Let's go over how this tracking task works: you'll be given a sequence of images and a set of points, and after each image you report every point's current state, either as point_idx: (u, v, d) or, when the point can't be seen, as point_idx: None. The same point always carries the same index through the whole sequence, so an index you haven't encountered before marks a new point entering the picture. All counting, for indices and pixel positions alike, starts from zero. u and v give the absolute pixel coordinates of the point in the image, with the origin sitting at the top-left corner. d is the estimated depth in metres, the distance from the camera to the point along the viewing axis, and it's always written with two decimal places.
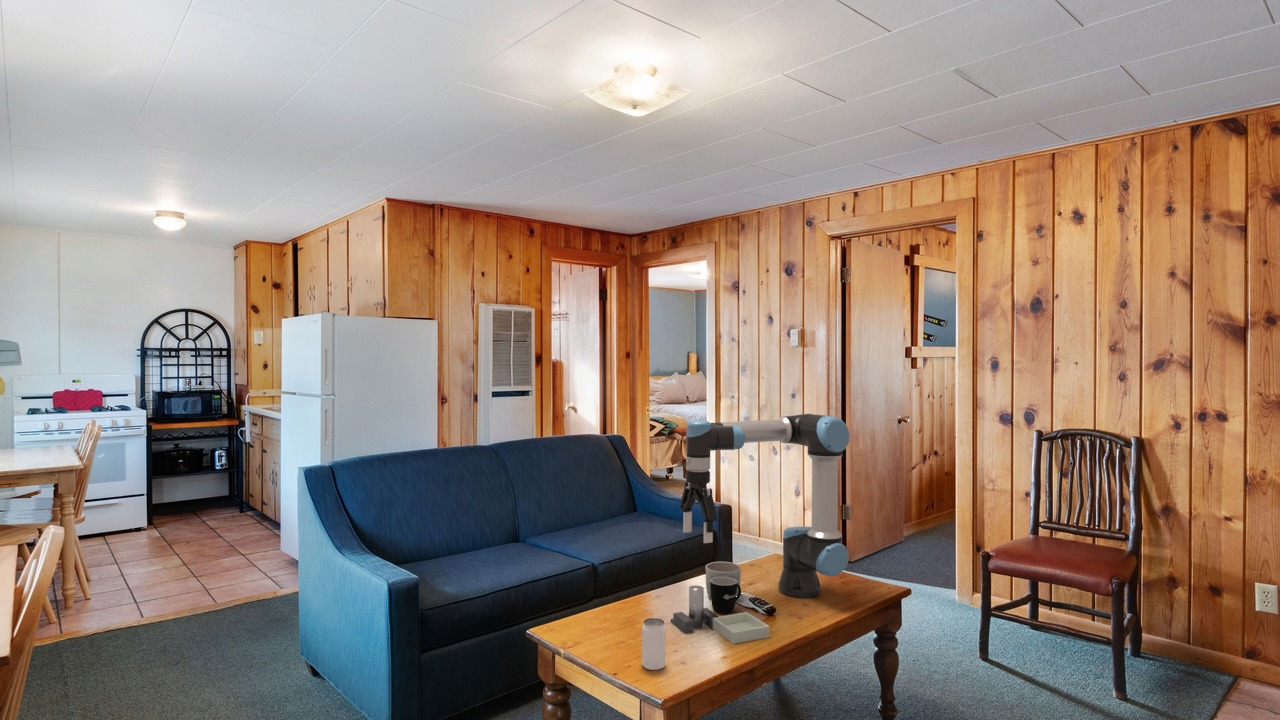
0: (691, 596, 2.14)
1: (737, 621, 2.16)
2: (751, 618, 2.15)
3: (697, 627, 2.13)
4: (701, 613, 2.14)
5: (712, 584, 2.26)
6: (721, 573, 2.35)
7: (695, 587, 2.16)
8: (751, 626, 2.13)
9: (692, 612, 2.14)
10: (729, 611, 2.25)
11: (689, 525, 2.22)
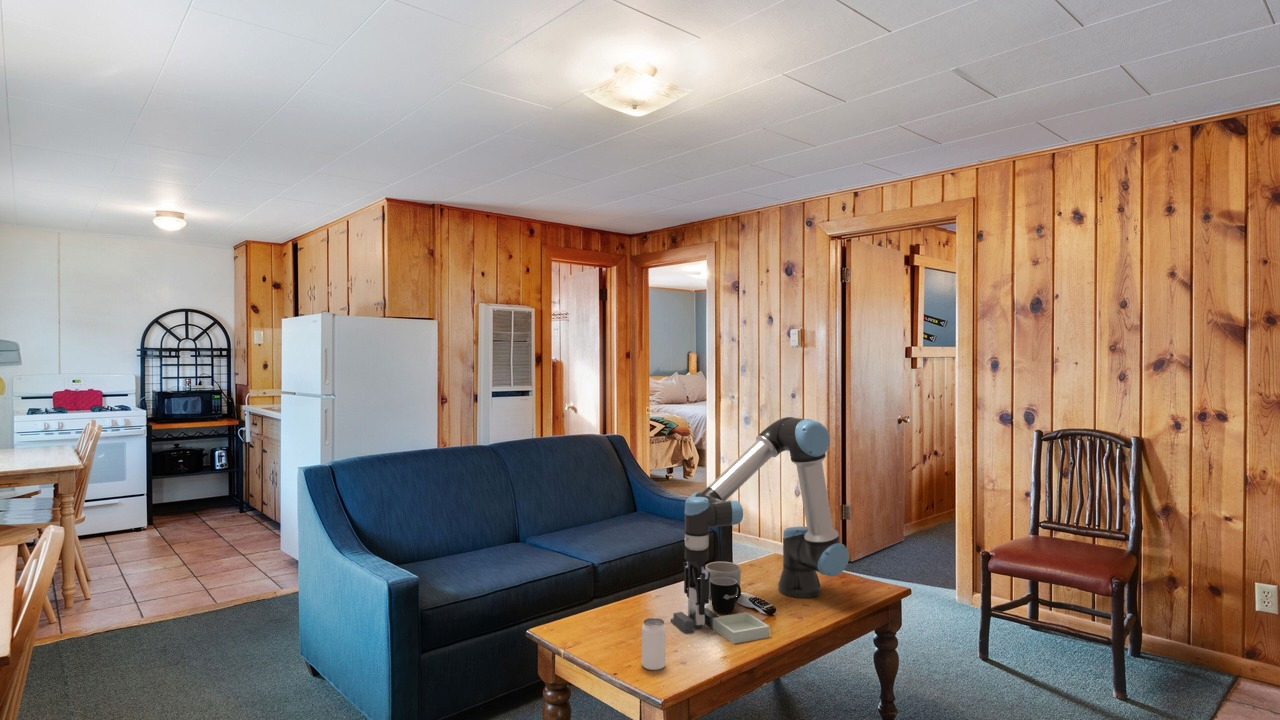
0: (691, 596, 2.14)
1: (737, 621, 2.16)
2: (751, 618, 2.15)
3: (697, 627, 2.13)
4: None
5: (712, 584, 2.26)
6: (721, 573, 2.35)
7: (695, 586, 2.16)
8: (751, 626, 2.13)
9: (692, 612, 2.14)
10: (729, 611, 2.25)
11: None
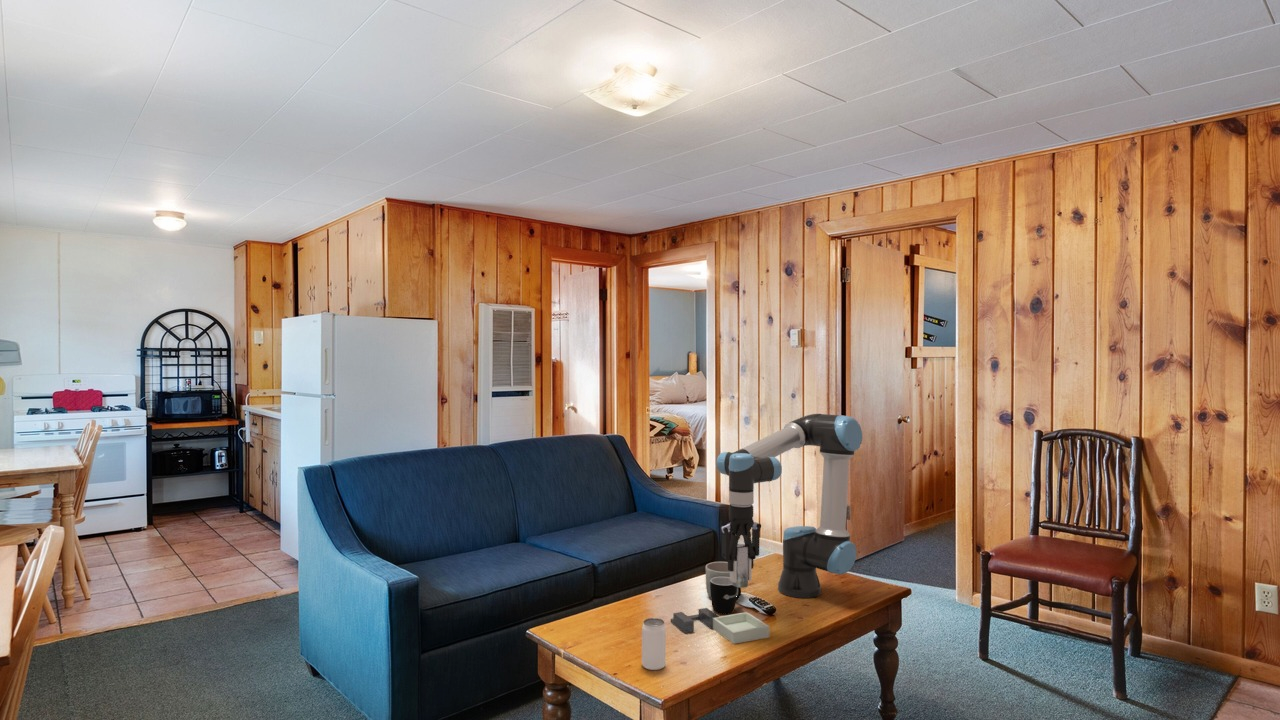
0: None
1: (737, 621, 2.16)
2: (751, 618, 2.15)
3: (733, 583, 2.10)
4: None
5: (712, 584, 2.26)
6: (721, 573, 2.35)
7: (743, 546, 2.10)
8: (751, 626, 2.13)
9: None
10: (729, 611, 2.25)
11: None
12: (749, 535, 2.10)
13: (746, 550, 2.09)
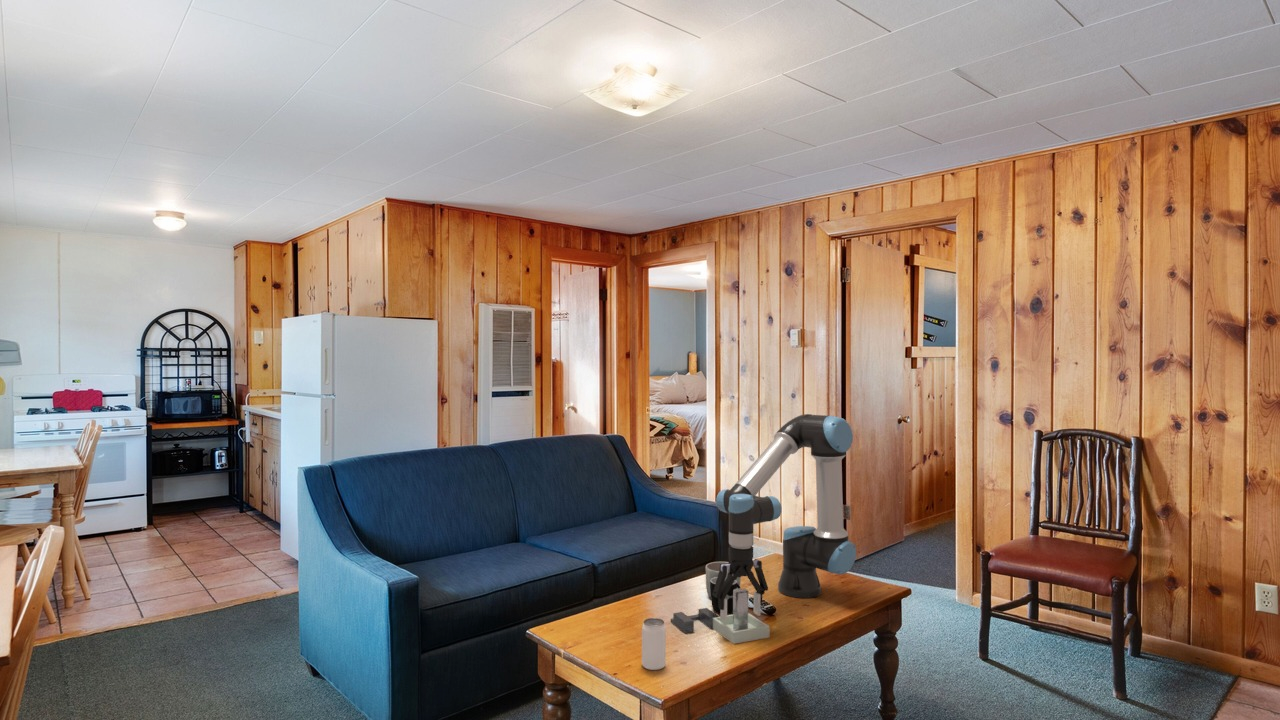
0: None
1: None
2: (751, 618, 2.15)
3: (733, 628, 2.10)
4: (735, 616, 2.09)
5: (712, 584, 2.26)
6: None
7: (743, 590, 2.11)
8: (751, 626, 2.13)
9: None
10: (729, 611, 2.25)
11: (756, 607, 2.12)
12: (752, 574, 2.10)
13: (746, 595, 2.09)
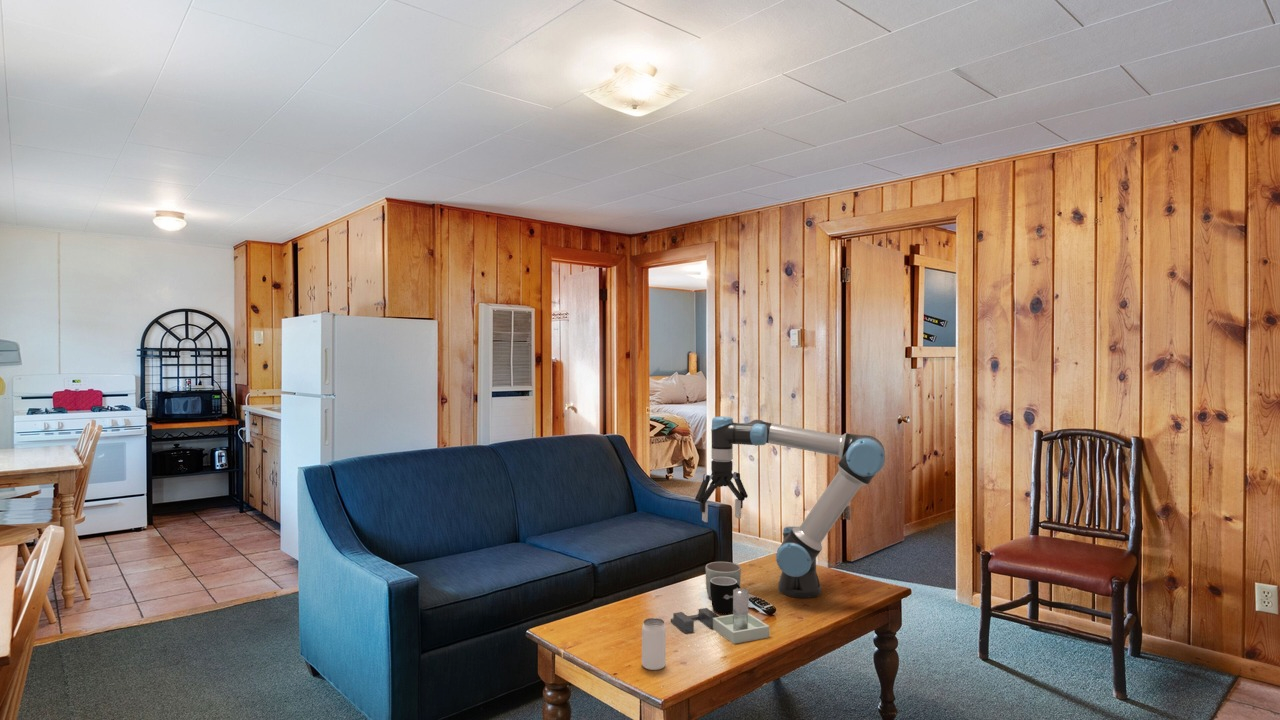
0: None
1: None
2: (751, 618, 2.15)
3: (733, 628, 2.10)
4: (735, 616, 2.09)
5: (712, 584, 2.26)
6: (721, 573, 2.35)
7: (743, 590, 2.11)
8: (751, 626, 2.13)
9: None
10: (729, 611, 2.25)
11: (737, 512, 2.47)
12: (732, 484, 2.44)
13: (746, 595, 2.09)
